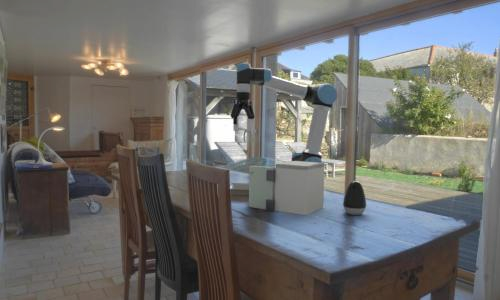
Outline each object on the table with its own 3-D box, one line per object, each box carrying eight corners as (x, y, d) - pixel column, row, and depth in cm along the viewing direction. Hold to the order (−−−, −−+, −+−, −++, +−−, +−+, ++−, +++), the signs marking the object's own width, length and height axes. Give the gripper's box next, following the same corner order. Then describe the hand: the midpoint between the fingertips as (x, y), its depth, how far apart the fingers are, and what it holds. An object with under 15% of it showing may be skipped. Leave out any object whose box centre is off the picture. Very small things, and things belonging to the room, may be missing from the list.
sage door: (252, 205, 192) (252, 165, 191) (275, 209, 185) (275, 167, 184) (247, 207, 189) (248, 166, 188) (270, 210, 182) (271, 168, 180)
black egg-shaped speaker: (340, 214, 176) (341, 181, 175) (345, 210, 185) (346, 178, 184) (363, 217, 171) (364, 183, 170) (367, 213, 180) (369, 180, 179)
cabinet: (293, 203, 199) (294, 160, 197) (323, 207, 190) (324, 162, 189) (274, 210, 182) (275, 163, 181) (306, 215, 173) (307, 166, 172)
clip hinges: (272, 207, 188) (273, 168, 187) (279, 208, 186) (280, 169, 185) (265, 210, 183) (266, 170, 181) (272, 211, 181) (273, 170, 179)
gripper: (249, 93, 227) (249, 130, 228) (224, 90, 206) (224, 130, 208) (260, 93, 223) (260, 130, 224) (235, 90, 202) (235, 130, 203)
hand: (242, 130), depth 216 cm, fingers open, 13 cm apart
